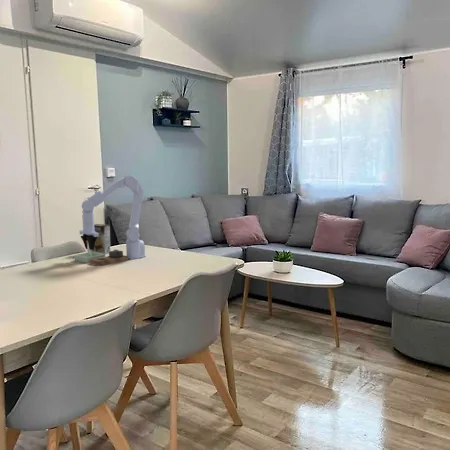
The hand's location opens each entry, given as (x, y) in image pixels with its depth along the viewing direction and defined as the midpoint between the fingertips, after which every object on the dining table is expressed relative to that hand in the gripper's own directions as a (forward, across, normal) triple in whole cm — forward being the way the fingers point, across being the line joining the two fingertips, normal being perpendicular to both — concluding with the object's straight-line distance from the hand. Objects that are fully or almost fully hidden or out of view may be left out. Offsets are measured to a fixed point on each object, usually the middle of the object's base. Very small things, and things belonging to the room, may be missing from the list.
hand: (89, 249), depth 245 cm
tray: (+6, 0, 0) cm, 6 cm away
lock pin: (+3, 0, 0) cm, 3 cm away
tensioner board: (+6, +11, +4) cm, 13 cm away
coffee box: (+6, -12, +15) cm, 20 cm away
